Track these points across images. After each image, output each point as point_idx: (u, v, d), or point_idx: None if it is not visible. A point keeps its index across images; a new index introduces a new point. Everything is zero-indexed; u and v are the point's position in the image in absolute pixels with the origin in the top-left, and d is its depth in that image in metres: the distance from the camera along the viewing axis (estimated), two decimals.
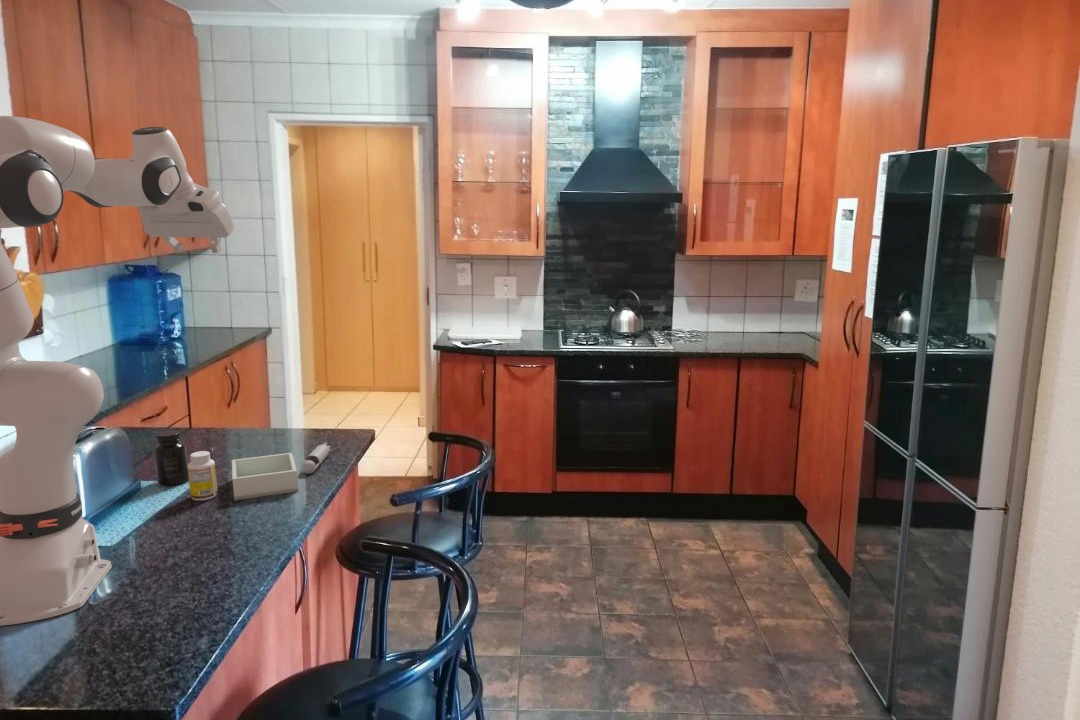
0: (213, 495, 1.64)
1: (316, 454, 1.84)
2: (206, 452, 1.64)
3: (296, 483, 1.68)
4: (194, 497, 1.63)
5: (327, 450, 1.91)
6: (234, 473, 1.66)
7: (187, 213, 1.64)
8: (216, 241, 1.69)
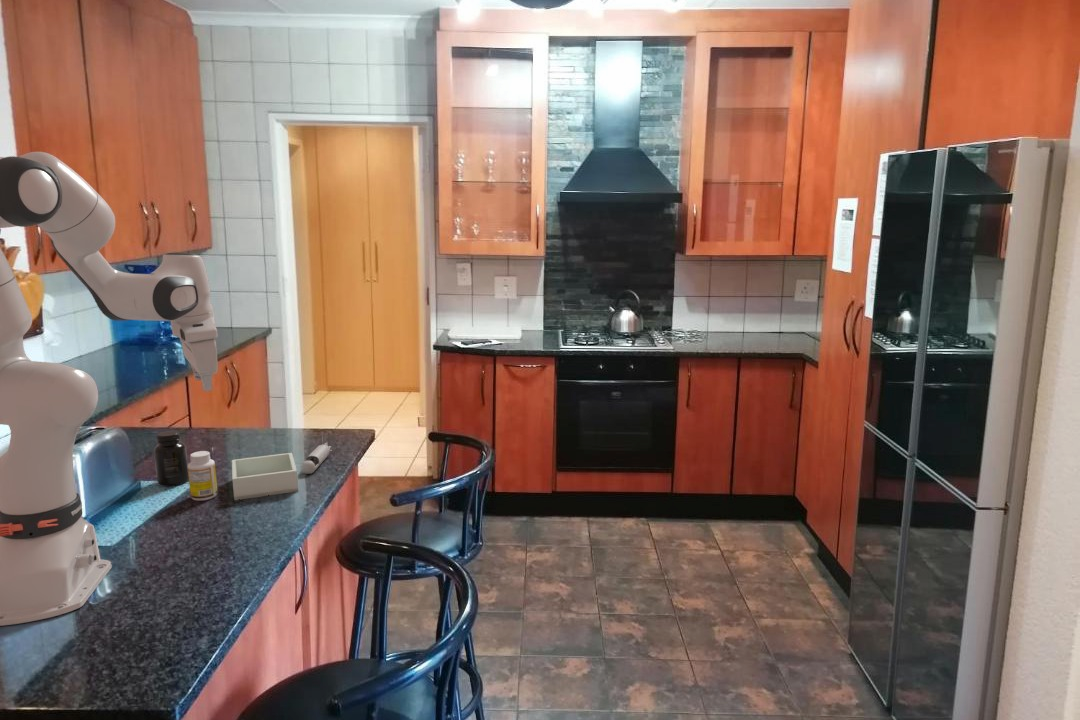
0: (213, 495, 1.64)
1: (316, 454, 1.84)
2: (206, 452, 1.64)
3: (296, 483, 1.68)
4: (194, 497, 1.63)
5: (327, 450, 1.90)
6: (234, 473, 1.66)
7: None
8: (201, 378, 1.59)
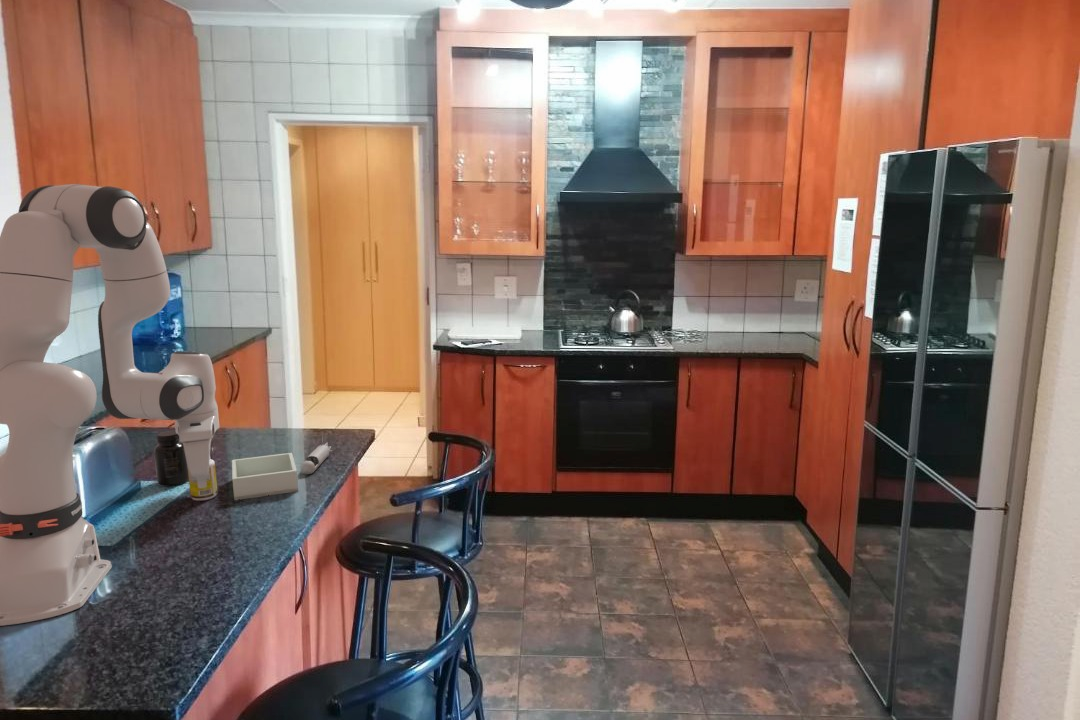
0: (213, 495, 1.64)
1: (316, 455, 1.84)
2: None
3: (296, 483, 1.68)
4: (194, 497, 1.63)
5: (327, 451, 1.90)
6: (234, 473, 1.66)
7: None
8: None
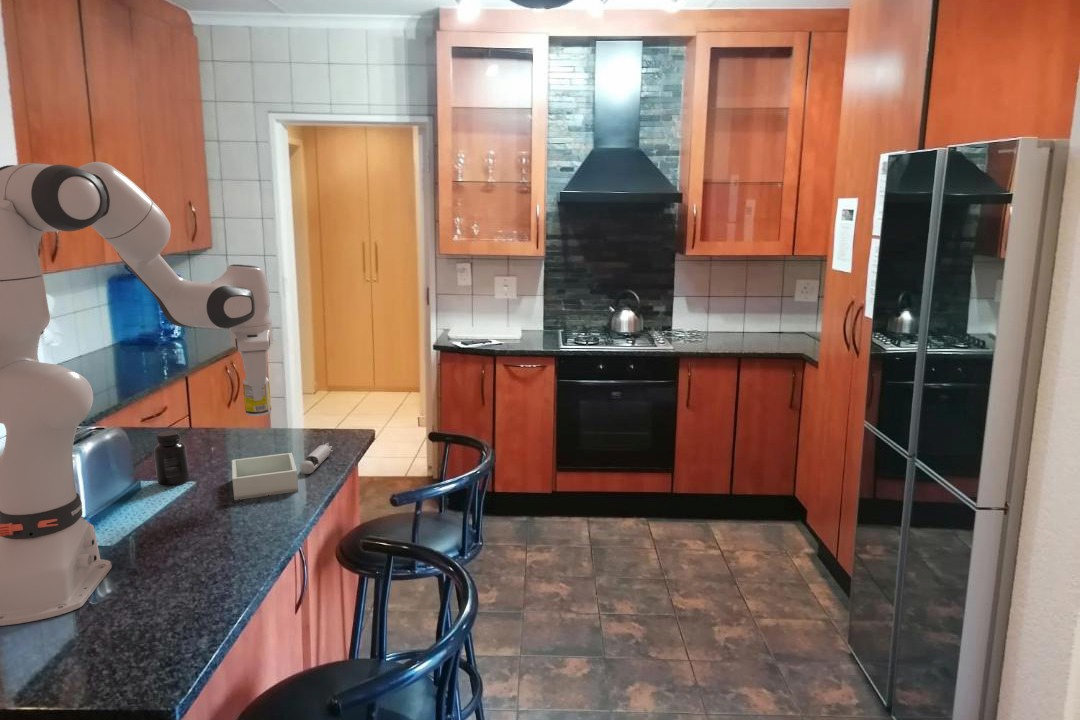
0: (268, 411, 1.67)
1: (316, 454, 1.84)
2: None
3: (296, 483, 1.68)
4: (249, 412, 1.66)
5: (328, 450, 1.90)
6: (234, 473, 1.66)
7: None
8: None
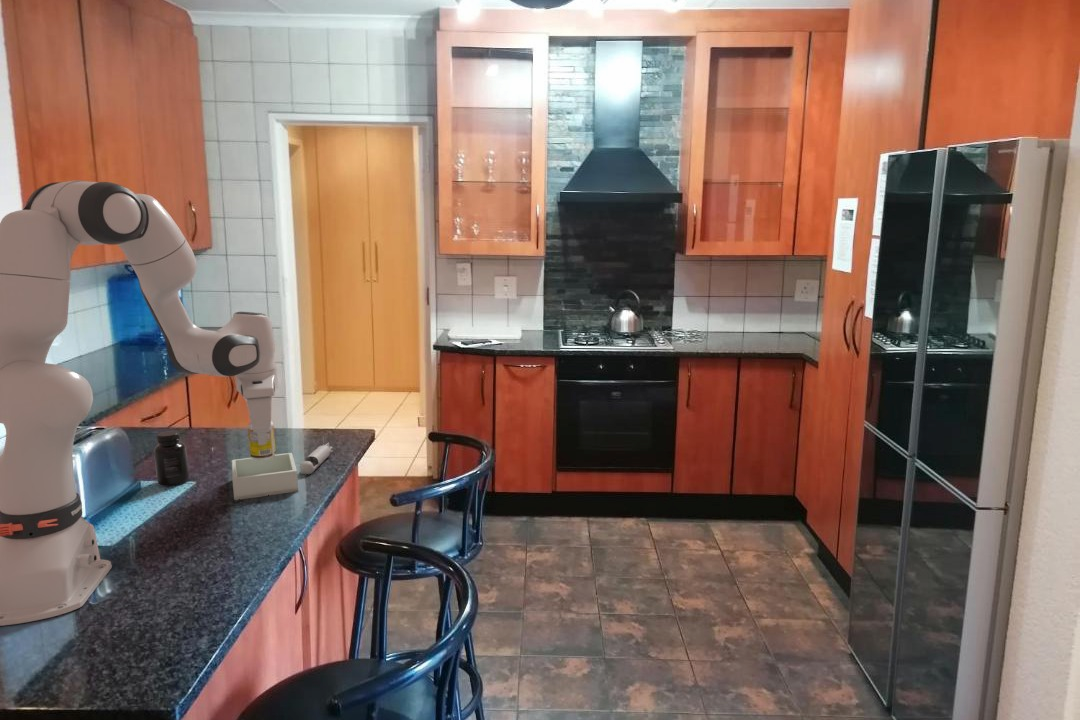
0: (272, 455, 1.70)
1: (316, 455, 1.84)
2: None
3: (296, 483, 1.68)
4: (254, 457, 1.68)
5: (328, 451, 1.90)
6: (234, 473, 1.66)
7: None
8: None
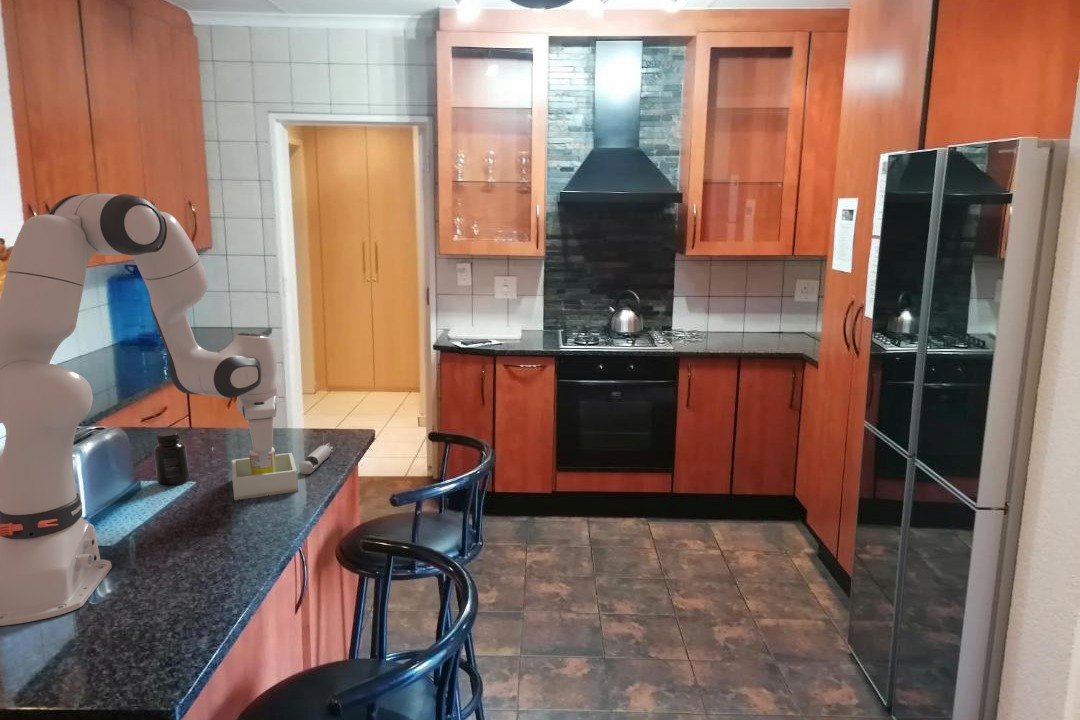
0: None
1: (315, 455, 1.84)
2: None
3: (296, 483, 1.68)
4: None
5: (328, 451, 1.90)
6: (234, 473, 1.66)
7: None
8: (258, 454, 1.64)
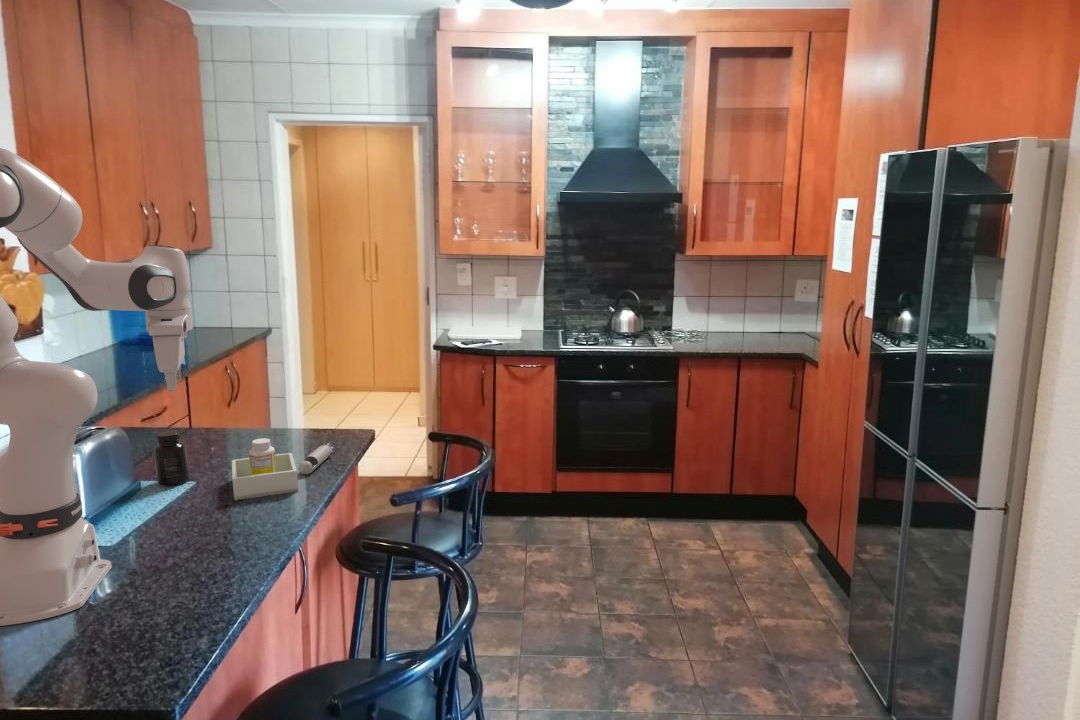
0: None
1: (315, 455, 1.83)
2: (267, 439, 1.70)
3: (296, 483, 1.68)
4: None
5: (328, 451, 1.90)
6: (234, 473, 1.66)
7: None
8: None
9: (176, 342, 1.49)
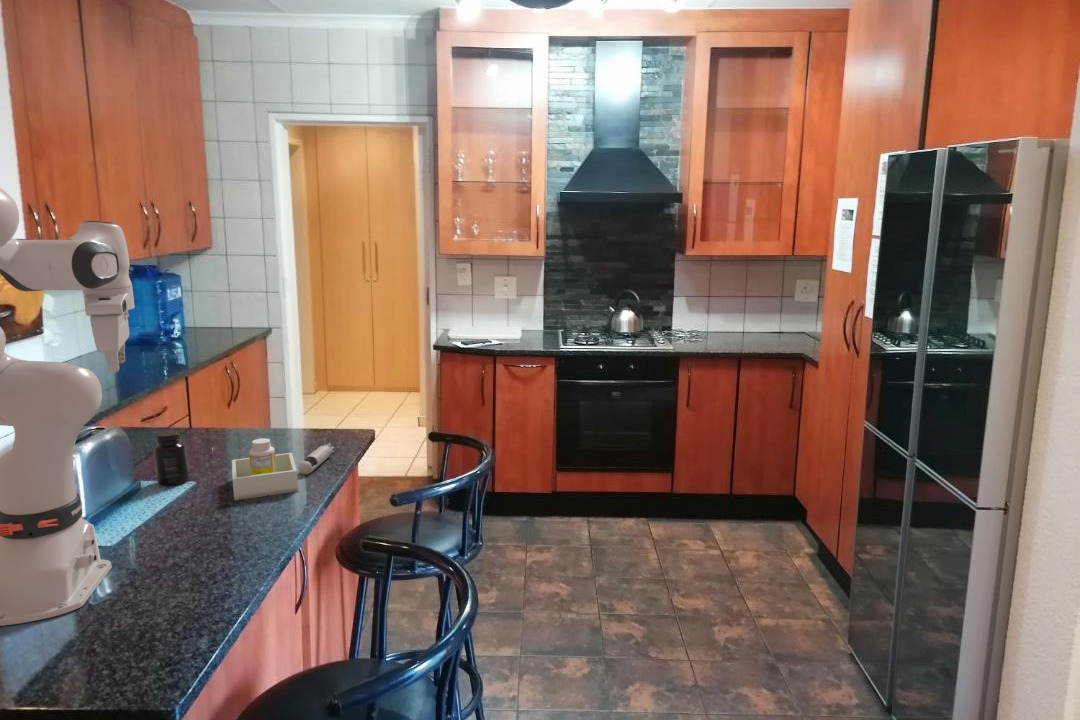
0: None
1: (315, 455, 1.83)
2: (267, 439, 1.70)
3: (296, 483, 1.68)
4: None
5: (329, 451, 1.90)
6: (234, 473, 1.66)
7: None
8: None
9: (115, 322, 1.44)
